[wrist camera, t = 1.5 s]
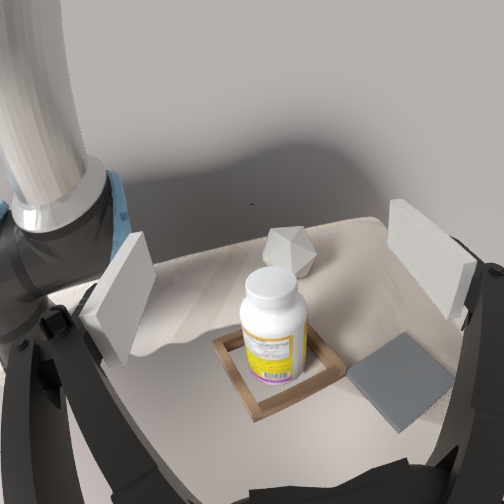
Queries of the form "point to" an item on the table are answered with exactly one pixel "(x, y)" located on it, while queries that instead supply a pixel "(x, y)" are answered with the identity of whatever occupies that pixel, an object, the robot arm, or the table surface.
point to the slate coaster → (401, 381)
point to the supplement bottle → (274, 325)
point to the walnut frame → (290, 395)
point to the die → (289, 250)
